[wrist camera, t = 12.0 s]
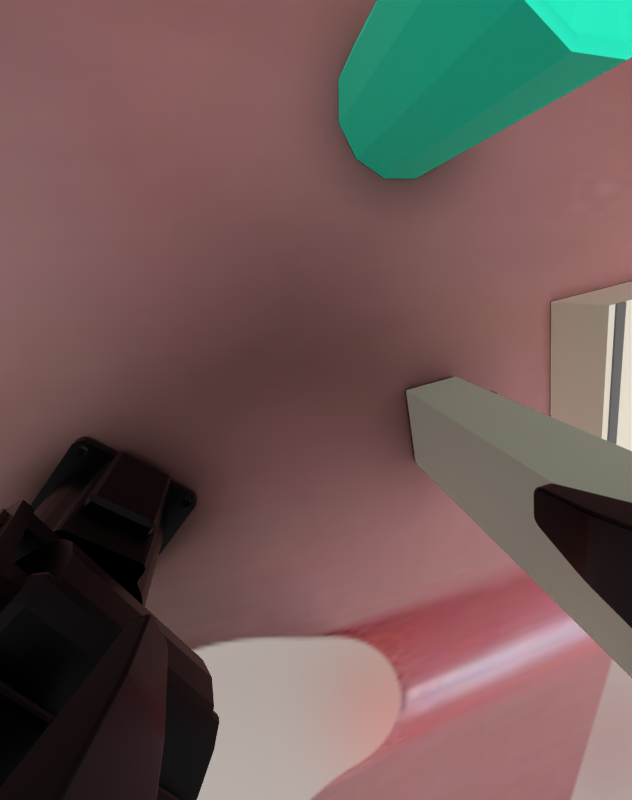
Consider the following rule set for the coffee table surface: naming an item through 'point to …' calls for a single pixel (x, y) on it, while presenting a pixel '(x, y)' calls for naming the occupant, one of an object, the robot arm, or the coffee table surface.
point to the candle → (467, 72)
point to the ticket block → (594, 362)
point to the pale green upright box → (521, 485)
